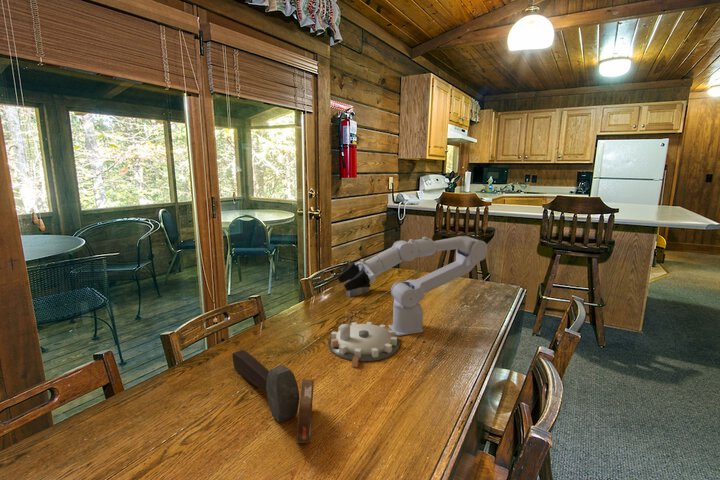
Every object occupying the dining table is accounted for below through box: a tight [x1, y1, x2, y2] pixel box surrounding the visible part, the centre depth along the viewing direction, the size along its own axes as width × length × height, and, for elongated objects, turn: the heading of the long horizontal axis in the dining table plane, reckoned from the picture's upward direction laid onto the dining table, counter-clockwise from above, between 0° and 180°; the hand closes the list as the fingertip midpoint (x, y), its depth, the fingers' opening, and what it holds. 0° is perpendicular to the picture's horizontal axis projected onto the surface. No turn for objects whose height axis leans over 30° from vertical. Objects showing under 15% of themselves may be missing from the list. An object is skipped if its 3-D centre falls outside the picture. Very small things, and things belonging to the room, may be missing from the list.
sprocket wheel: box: [330, 321, 398, 358], centre depth 114 cm, size 20×20×6 cm
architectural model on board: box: [345, 279, 371, 298], centre depth 159 cm, size 11×3×10 cm, turn 132°
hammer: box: [232, 349, 300, 424], centre depth 90 cm, size 5×11×30 cm
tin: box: [296, 378, 315, 444], centre depth 78 cm, size 15×3×8 cm, turn 5°
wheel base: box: [327, 335, 400, 368], centre depth 114 cm, size 22×24×2 cm
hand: (341, 283), depth 115 cm, fingers open, 7 cm apart
